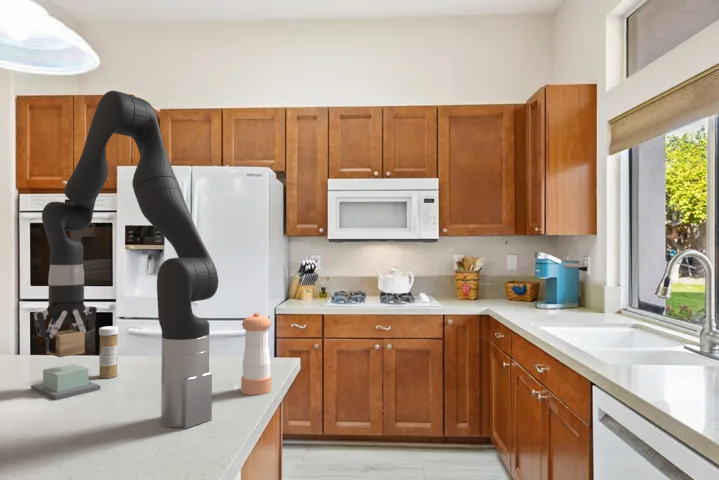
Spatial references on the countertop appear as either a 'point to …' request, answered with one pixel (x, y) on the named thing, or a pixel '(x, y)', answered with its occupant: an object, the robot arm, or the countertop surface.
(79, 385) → the build plate
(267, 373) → the salt shaker
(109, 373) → the sprinkles bottle
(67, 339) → the walnut brick
